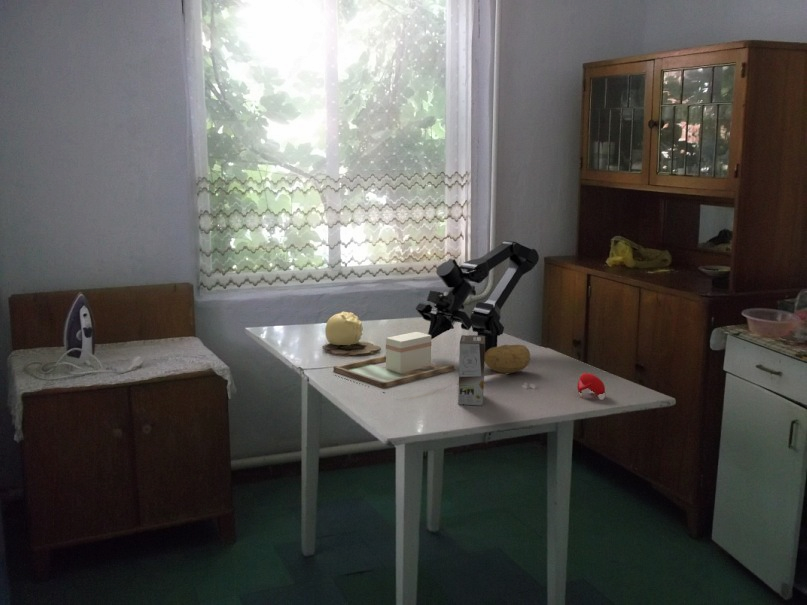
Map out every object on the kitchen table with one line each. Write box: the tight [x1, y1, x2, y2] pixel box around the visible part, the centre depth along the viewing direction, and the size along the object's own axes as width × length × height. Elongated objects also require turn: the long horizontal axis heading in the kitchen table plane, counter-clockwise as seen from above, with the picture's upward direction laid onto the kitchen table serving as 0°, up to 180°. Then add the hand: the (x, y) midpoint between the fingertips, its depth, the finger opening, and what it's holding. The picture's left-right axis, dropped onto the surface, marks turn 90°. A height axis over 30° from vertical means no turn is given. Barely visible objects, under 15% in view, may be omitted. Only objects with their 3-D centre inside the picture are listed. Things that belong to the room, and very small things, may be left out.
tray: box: [333, 354, 455, 389], centre depth 236 cm, size 27×21×2 cm
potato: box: [485, 344, 531, 374], centre depth 239 cm, size 10×14×8 cm
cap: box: [576, 372, 606, 396], centre depth 218 cm, size 8×6×6 cm
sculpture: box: [324, 311, 364, 346], centre depth 269 cm, size 12×12×11 cm
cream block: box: [385, 331, 432, 373], centre depth 239 cm, size 12×6×9 cm, turn 133°
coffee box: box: [457, 334, 486, 406], centre depth 213 cm, size 9×6×16 cm
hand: (428, 338), depth 244 cm, fingers closed
